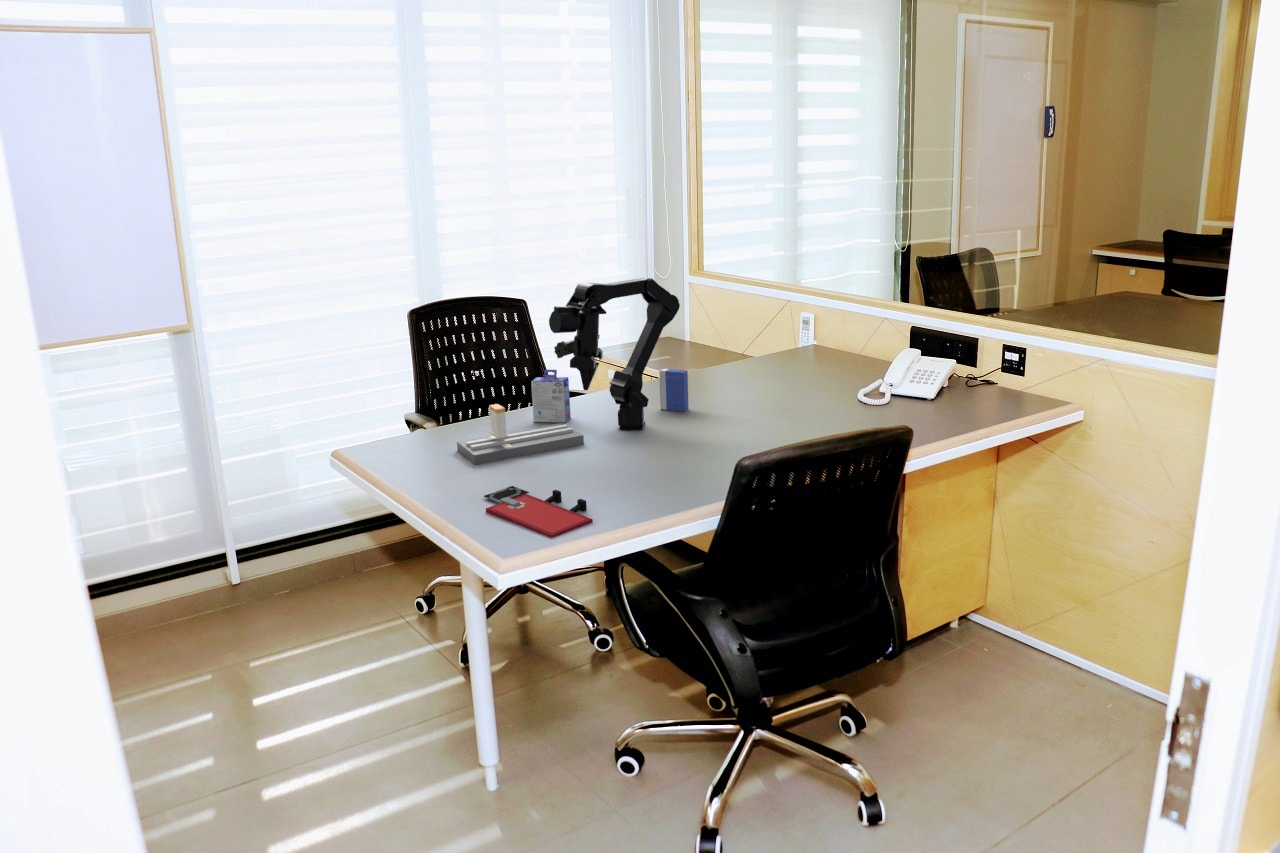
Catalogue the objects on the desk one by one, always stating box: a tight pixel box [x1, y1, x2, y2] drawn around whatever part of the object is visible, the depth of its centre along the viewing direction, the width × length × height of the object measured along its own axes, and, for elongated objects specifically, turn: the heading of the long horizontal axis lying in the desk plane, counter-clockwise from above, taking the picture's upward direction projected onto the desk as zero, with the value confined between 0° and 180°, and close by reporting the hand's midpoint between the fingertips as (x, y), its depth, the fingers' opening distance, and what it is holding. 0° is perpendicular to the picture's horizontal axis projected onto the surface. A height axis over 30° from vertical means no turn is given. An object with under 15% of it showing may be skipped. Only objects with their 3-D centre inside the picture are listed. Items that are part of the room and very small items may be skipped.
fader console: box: [456, 422, 585, 465], centre depth 272 cm, size 30×14×3 cm, turn 118°
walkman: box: [658, 368, 690, 412], centre depth 301 cm, size 8×3×12 cm, turn 63°
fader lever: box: [488, 403, 508, 441], centre depth 268 cm, size 3×6×9 cm, turn 28°
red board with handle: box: [483, 485, 594, 539], centre depth 227 cm, size 30×3×15 cm
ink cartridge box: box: [530, 368, 572, 423], centre depth 295 cm, size 10×6×14 cm, turn 78°
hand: (585, 389), depth 275 cm, fingers closed
